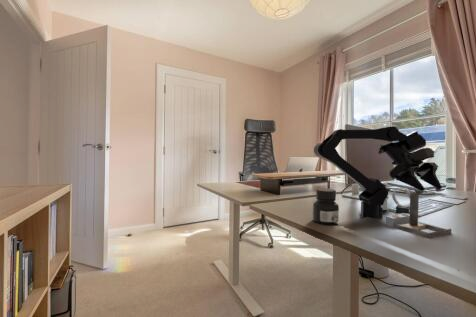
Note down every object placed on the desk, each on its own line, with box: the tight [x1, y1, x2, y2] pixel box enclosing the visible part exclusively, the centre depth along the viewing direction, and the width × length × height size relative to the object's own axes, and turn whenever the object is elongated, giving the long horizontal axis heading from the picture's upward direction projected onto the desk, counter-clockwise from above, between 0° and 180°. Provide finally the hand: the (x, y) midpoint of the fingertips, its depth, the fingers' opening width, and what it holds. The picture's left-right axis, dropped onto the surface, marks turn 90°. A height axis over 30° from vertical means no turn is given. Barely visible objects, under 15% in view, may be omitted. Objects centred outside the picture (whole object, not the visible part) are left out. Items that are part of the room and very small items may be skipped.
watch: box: [391, 187, 413, 214], centre depth 96 cm, size 6×8×11 cm
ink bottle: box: [312, 187, 340, 226], centre depth 84 cm, size 10×9×12 cm
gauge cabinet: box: [385, 212, 410, 228], centre depth 79 cm, size 2×11×4 cm, turn 112°
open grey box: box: [393, 221, 452, 239], centre depth 74 cm, size 13×11×2 cm
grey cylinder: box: [403, 192, 427, 230], centre depth 74 cm, size 3×8×11 cm, turn 112°
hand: (432, 189), depth 76 cm, fingers open, 9 cm apart
